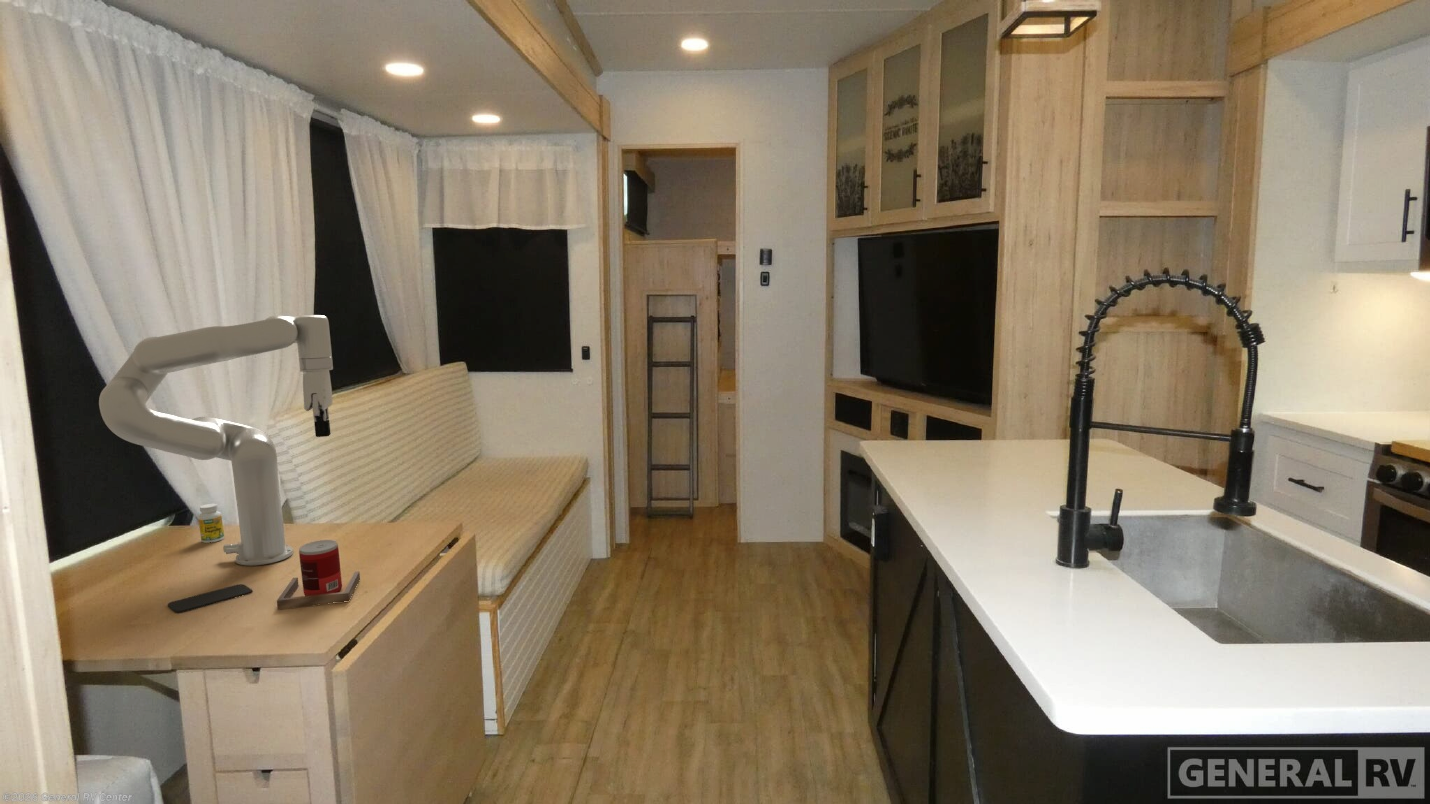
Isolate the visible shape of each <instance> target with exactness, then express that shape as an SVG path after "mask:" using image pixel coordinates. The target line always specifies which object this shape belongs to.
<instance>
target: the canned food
mask: <svg viewBox="0 0 1430 804" xmlns="http://www.w3.org/2000/svg"><path fill="white" fill-rule="evenodd" d="M338 544H339V543H338V541H336V540H333V539H321V540H320V539H319V540H315V541H311V542H308V543H305V544H303V545H301V546H300V547H299V548H298V549H299V551H298V554H299V563H300V571H301V581H302V590H303V596H310V595H319V594H329V593H339V592H340V591H341V592H342V589H343V581H342V571H341V569H342V568H341V561H340V550H339V545H338Z"/></svg>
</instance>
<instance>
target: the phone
mask: <svg viewBox="0 0 1430 804" xmlns="http://www.w3.org/2000/svg"><path fill="white" fill-rule="evenodd" d="M252 593H253V589H252V588H250V587H249V586H247V585H246V584H243V583H240V584H235V585H231V586H227V587H224V588H223V587H222V588H220V589H216V590H212V591H207V592H204V593H200V594H196V595H192V596H188V597H185V598H182V599H181V598H180V599H178V600H174V601H170V602H168V603H167V607H168V608H169V609H170V610H171V611H172V612H173V613H175V614H183V613H186V612H190V611H194V610H197V609H200V608H201V609H202V608H205V607H207V606H211V605H215V604H219V603H222V602H225V601H229V600H233V599H236V598H235V597H237V598H239V596H240V597H243V596H242V595H244V596H247V595H250V594H252Z"/></svg>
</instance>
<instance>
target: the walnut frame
mask: <svg viewBox="0 0 1430 804" xmlns="http://www.w3.org/2000/svg"><path fill="white" fill-rule="evenodd" d="M360 576H361V574H360V571H354V572H353V574H352V576H351V578H350V580H349V582H348V584H347V586H346V588H345V590H344V591H341V592H339V593H329V594H319V595H310V596H305V595H301V596H293V595H294V594H295V592H296V591H297V589H298V588H299V587H300V586H299V577H292V579H291V580H290V581H289V582H288V584H287V585H286V586H285V588H284V590H283V591H282V592H281V594H280V595H279V597H278V598H277V599H276V606H277V607H276V608H277V610H278V611H279V610H287V609H297V608H298V609H299V608H305V607H314V606H313V605H316V606H319V605H318V604H326V605H329V604H328V603H333V602H344V601H349V600H350V601H351V599H352V597H353V595H354V593H355V591H356V589H355V588H357V587H358V585H359V583H360V581H359V580H361V577H360ZM358 582H359V583H358ZM357 584H358V585H357ZM356 586H357V587H356ZM352 594H353V595H352ZM292 596H293V597H292ZM351 596H352V597H351ZM350 598H351V599H350ZM350 601H349V602H350ZM344 603H345V602H344Z"/></svg>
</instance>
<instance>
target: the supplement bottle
mask: <svg viewBox="0 0 1430 804" xmlns="http://www.w3.org/2000/svg"><path fill="white" fill-rule="evenodd" d="M218 509H219V508H218V504H217V503H207V504H202V505H201V506H199V511H200V514H198V517H197V520H198V525H199V526H198V527H199V534H200V535H199V536H200V539H201V542H202V543H204V544H209V543H210V542H211V543H217V542H219V541H222V540H223V539H225V532H224V524H223V514H222V513H221V512H220V511H218Z"/></svg>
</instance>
